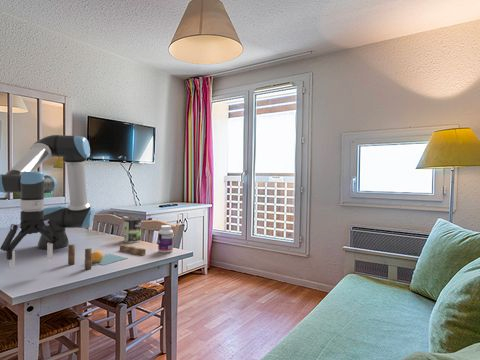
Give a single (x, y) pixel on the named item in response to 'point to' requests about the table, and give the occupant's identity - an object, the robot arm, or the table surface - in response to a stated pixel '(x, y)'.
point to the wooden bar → (132, 249)
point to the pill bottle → (165, 239)
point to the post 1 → (71, 254)
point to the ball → (97, 256)
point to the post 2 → (88, 258)
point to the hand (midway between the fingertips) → (31, 262)
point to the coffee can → (132, 230)
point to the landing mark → (109, 259)
